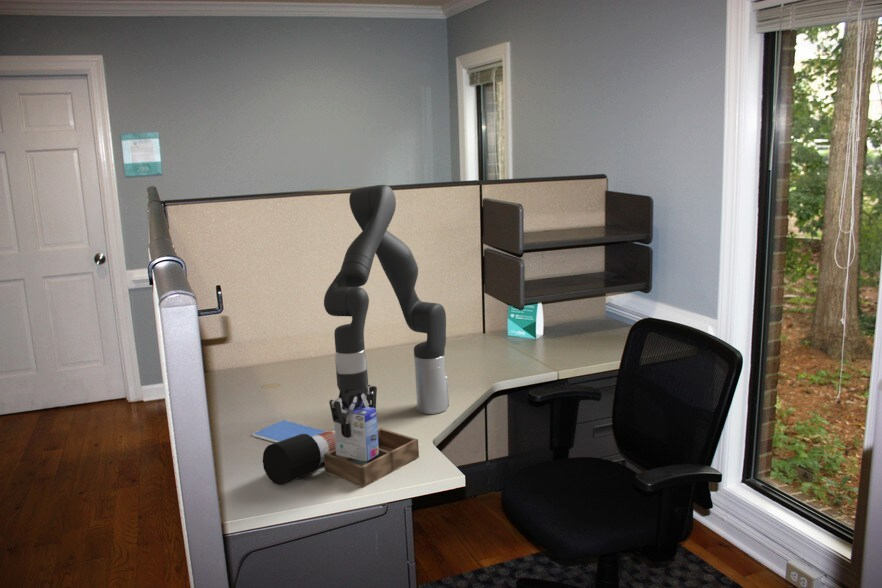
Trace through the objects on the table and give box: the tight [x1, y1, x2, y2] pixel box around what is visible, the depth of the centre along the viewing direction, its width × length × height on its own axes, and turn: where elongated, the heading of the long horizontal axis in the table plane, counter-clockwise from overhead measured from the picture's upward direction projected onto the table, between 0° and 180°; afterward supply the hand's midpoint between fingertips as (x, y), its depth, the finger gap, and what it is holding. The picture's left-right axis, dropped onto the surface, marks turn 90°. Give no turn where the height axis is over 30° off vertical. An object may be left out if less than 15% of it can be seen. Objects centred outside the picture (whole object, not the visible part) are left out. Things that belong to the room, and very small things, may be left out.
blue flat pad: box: [251, 419, 328, 443], centre depth 207 cm, size 19×13×1 cm, turn 54°
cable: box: [262, 429, 336, 486], centre depth 189 cm, size 10×34×10 cm, turn 142°
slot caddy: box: [324, 427, 420, 488], centre depth 185 cm, size 20×14×5 cm
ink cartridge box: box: [333, 401, 379, 461], centre depth 180 cm, size 10×6×14 cm, turn 61°
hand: (356, 432), depth 180 cm, fingers closed on ink cartridge box, 6 cm apart
